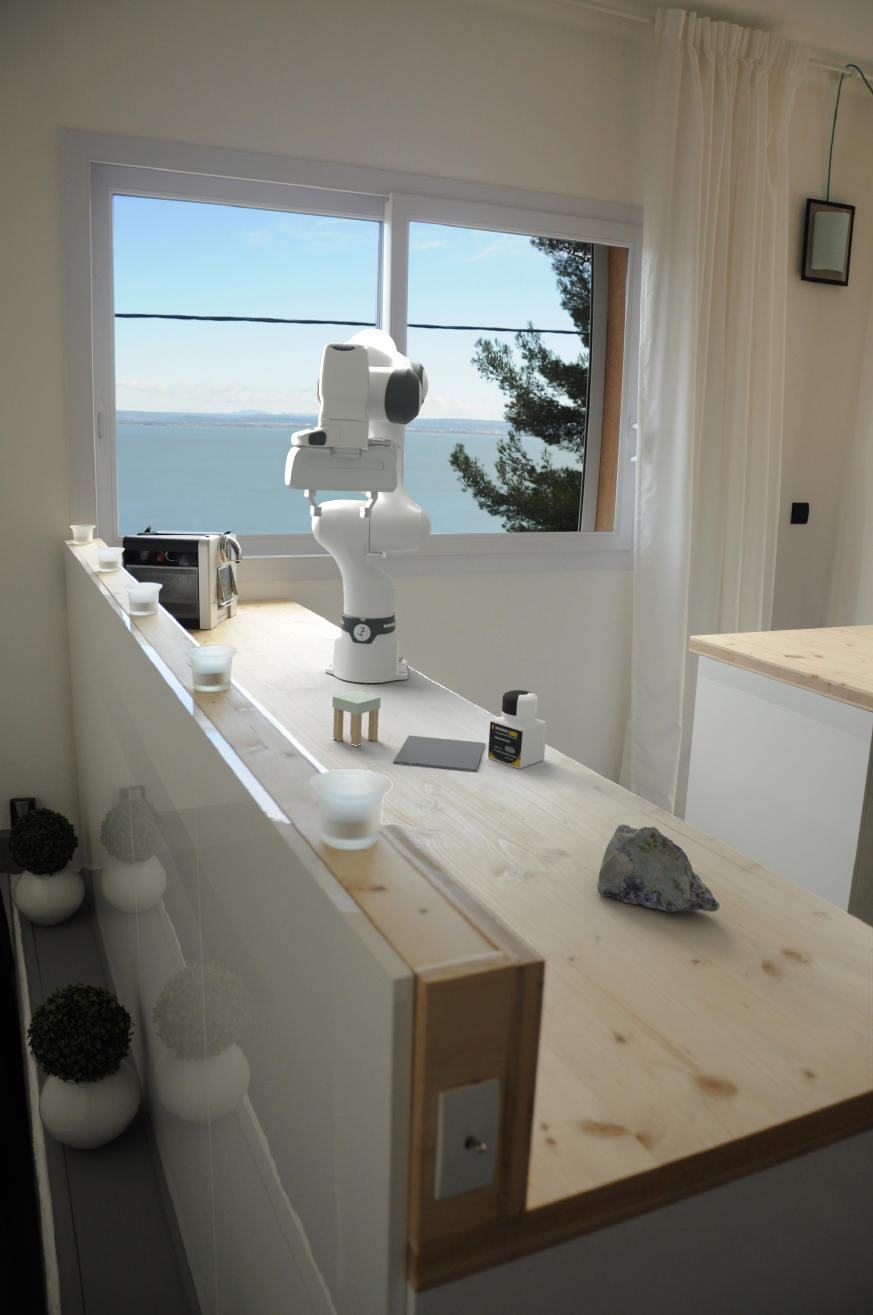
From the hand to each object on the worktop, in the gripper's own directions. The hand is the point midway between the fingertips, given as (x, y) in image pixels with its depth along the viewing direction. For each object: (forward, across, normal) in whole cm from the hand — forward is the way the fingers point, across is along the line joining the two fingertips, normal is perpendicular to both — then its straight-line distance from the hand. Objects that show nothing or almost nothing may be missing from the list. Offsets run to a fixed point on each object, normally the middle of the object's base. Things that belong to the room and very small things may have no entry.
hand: (341, 516), depth 170 cm
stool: (+39, -1, +9) cm, 40 cm away
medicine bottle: (+39, -24, +27) cm, 53 cm away
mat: (+39, -12, +21) cm, 46 cm away
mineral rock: (+40, -13, +78) cm, 89 cm away
